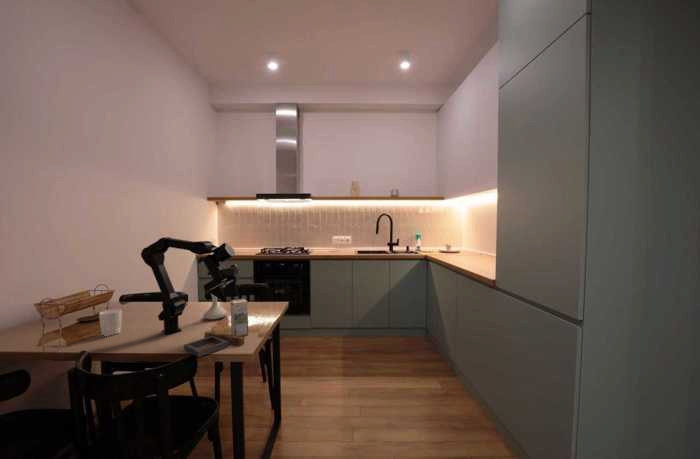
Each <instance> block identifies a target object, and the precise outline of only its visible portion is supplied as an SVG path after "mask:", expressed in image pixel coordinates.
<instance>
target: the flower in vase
mask: <svg viewBox="0 0 700 459" xmlns="http://www.w3.org/2000/svg"><path fill="white" fill-rule="evenodd" d="M220 285H222V284H220ZM226 285H227V284H226ZM223 288H226V287H225V284H224V283H223V287H222V289H223ZM210 296H211V301H212V304H211V306H210V307H209V308H208V309H207V310H206V311H204V313H203V315H202V318H204V319H205V320H218V319H222V318H224V317H225V316H227V315H228V311H227V310H226V309H224V308H223V307H222V306H220V305H219V304H218V298H217V297H216V296H214V295H212V294H211V293H210Z"/></svg>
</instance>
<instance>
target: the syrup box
mask: <svg viewBox="0 0 700 459" xmlns="http://www.w3.org/2000/svg"><path fill="white" fill-rule="evenodd" d="M248 304H249V303H248V300H246V299H245V298H240V299H234V300H233V299H232V300H230V330H231V332H230V333H231V334H230V335H233V336H239V337H243V336H246V335H247V336H248V335H249V315H248V314H249V313H248V311H249V309H248V307H249V306H248Z"/></svg>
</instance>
